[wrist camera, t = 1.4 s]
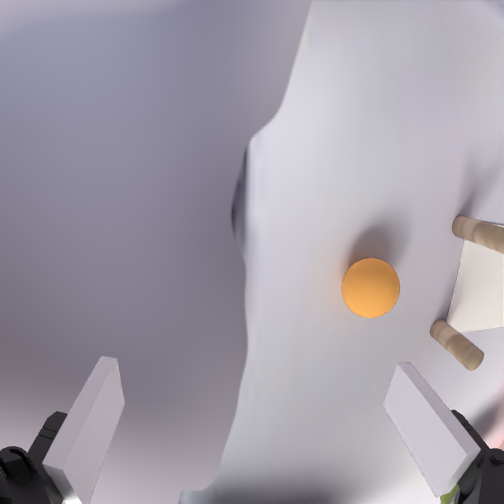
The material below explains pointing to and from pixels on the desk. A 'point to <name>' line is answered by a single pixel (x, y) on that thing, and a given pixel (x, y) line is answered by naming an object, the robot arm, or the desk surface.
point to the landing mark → (478, 290)
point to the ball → (370, 287)
